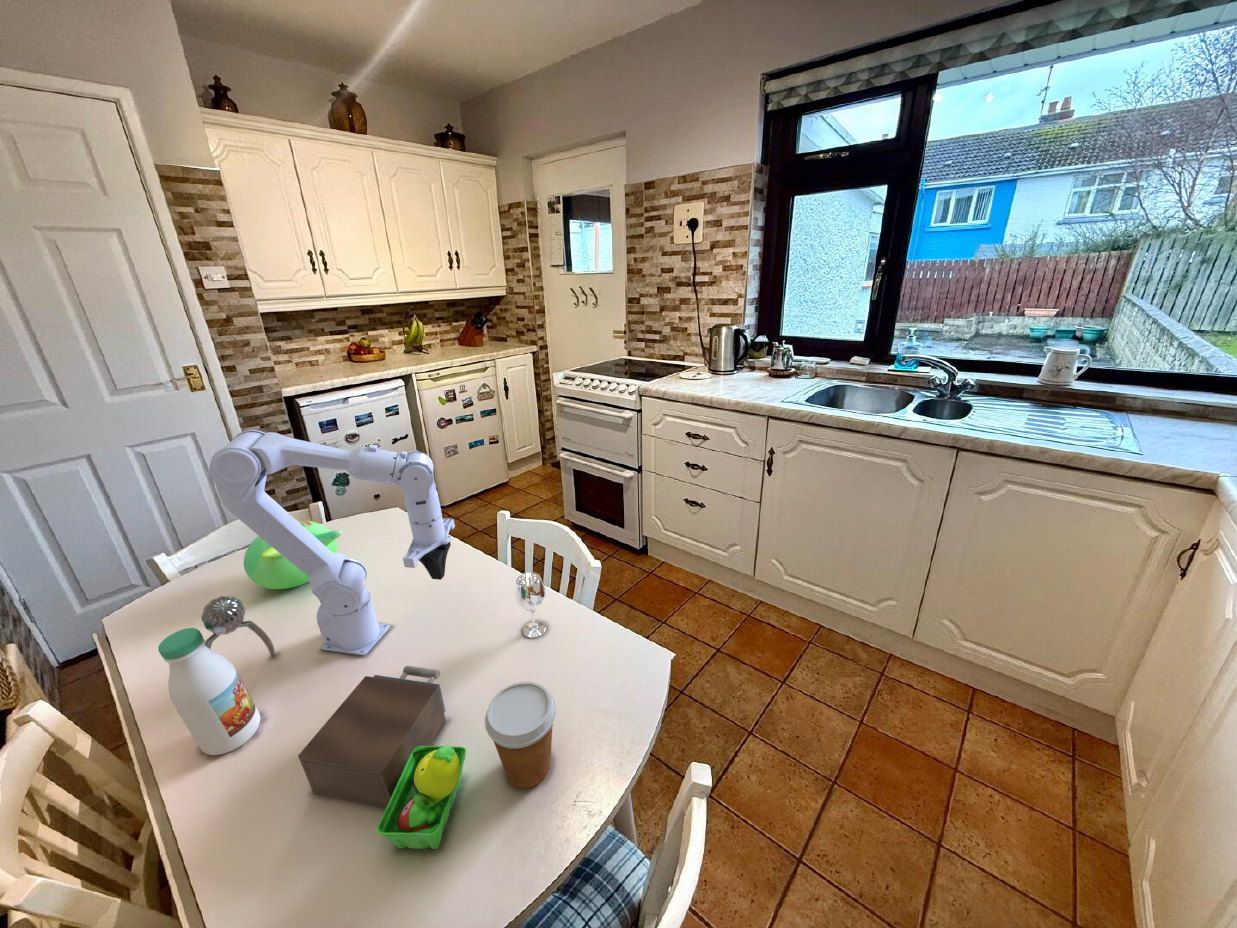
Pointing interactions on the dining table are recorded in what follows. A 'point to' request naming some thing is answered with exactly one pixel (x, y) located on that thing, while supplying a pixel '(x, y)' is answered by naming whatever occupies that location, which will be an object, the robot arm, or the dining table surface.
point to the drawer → (418, 672)
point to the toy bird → (282, 560)
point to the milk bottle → (208, 693)
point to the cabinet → (372, 740)
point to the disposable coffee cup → (522, 731)
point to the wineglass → (530, 600)
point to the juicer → (229, 620)
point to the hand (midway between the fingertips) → (438, 577)
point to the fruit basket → (423, 797)
